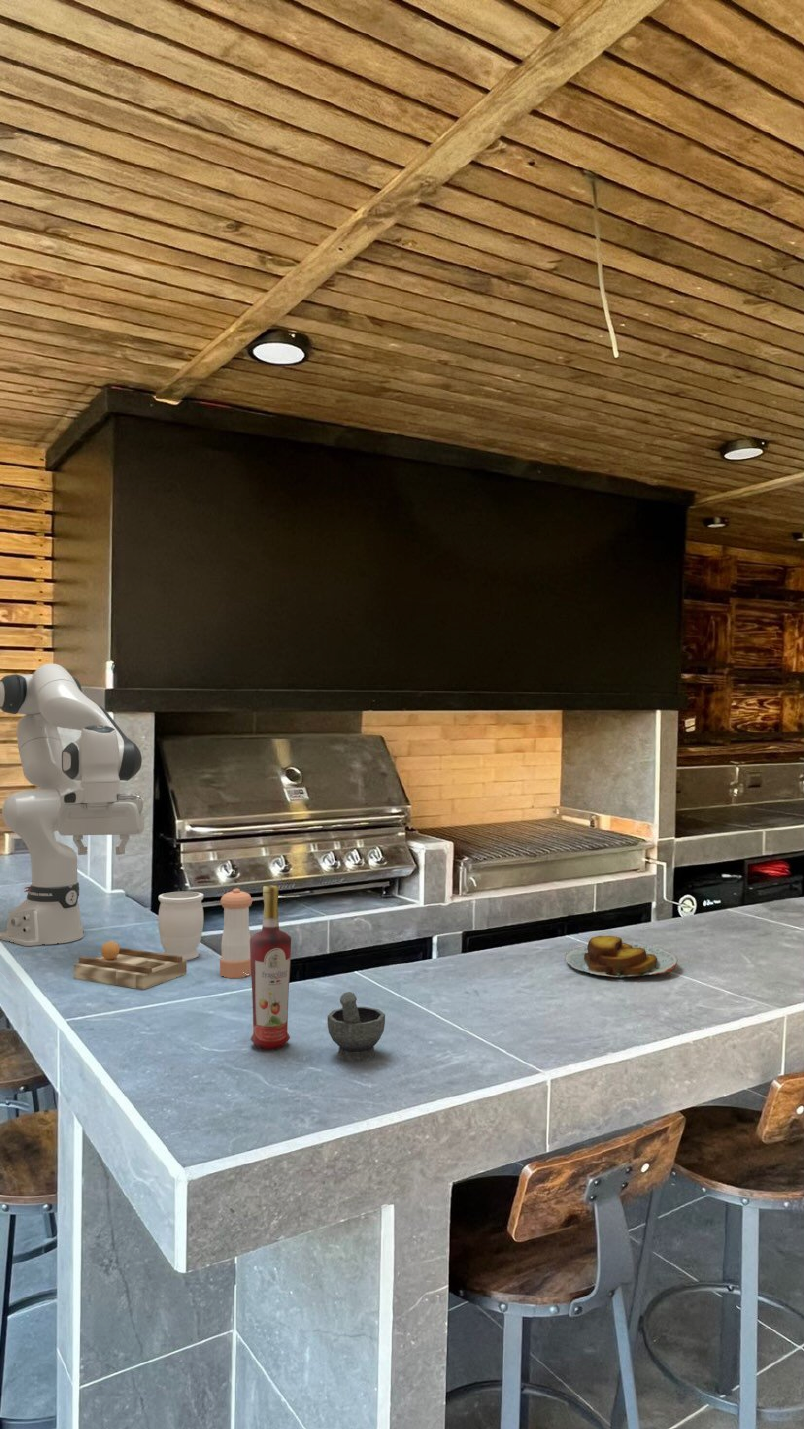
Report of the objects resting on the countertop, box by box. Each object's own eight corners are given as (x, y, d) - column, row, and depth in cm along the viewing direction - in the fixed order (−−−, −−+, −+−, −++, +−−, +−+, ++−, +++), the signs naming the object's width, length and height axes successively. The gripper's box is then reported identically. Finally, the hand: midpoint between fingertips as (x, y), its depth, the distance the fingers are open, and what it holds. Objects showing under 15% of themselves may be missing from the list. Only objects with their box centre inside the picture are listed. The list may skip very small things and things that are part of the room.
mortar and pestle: (338, 1043, 168) (338, 975, 168) (389, 1047, 166) (389, 979, 166) (318, 1066, 158) (318, 993, 158) (373, 1071, 155) (373, 997, 155)
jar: (208, 952, 232) (209, 891, 232) (195, 963, 222) (195, 899, 222) (166, 951, 233) (167, 890, 233) (151, 962, 223) (151, 898, 223)
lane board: (73, 978, 210) (73, 959, 210) (118, 963, 222) (118, 945, 222) (143, 989, 201) (143, 970, 201) (186, 973, 213) (186, 955, 213)
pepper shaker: (245, 979, 209) (245, 892, 209) (214, 977, 210) (214, 891, 210) (257, 970, 216) (257, 886, 216) (227, 968, 218) (227, 885, 218)
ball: (97, 960, 213) (97, 942, 213) (109, 956, 217) (109, 938, 217) (110, 962, 211) (110, 944, 211) (123, 958, 215) (123, 940, 215)
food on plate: (697, 980, 210) (697, 951, 210) (591, 987, 205) (591, 957, 205) (645, 951, 235) (645, 925, 235) (550, 957, 230) (550, 930, 230)
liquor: (255, 1055, 162) (255, 891, 162) (244, 1041, 169) (245, 884, 169) (296, 1049, 165) (296, 888, 165) (284, 1036, 172) (284, 882, 172)
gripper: (148, 793, 222) (149, 852, 221) (67, 795, 226) (68, 853, 225) (136, 794, 216) (137, 855, 215) (53, 796, 219) (54, 856, 219)
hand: (101, 854), depth 220 cm, fingers open, 8 cm apart
